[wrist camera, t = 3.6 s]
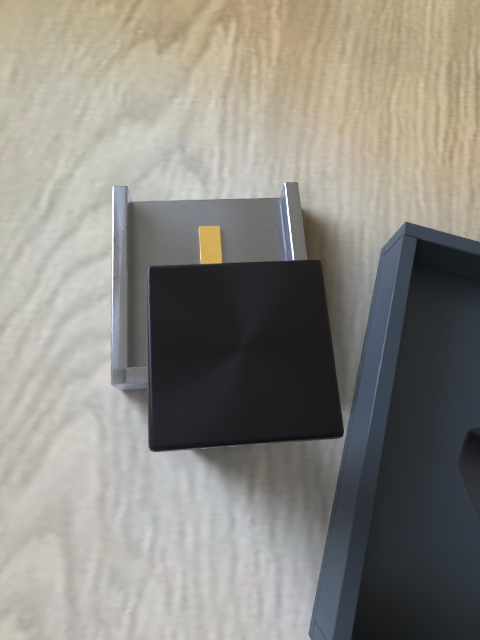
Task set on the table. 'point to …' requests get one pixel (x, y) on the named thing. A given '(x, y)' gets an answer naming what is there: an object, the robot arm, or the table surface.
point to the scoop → (222, 323)
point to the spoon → (210, 244)
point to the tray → (409, 455)
